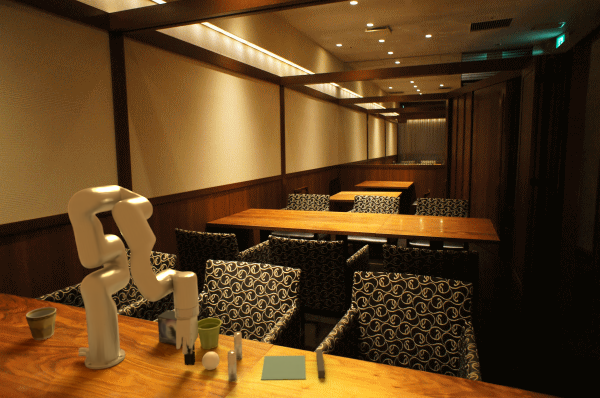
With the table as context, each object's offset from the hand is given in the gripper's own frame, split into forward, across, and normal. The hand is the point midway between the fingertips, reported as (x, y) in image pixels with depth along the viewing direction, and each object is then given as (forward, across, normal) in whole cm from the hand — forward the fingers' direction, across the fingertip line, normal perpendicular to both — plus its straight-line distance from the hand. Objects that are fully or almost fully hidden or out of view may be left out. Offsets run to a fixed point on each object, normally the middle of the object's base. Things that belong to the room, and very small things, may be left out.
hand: (190, 363), depth 131 cm
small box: (+2, -20, -11) cm, 23 cm away
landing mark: (+2, 0, +31) cm, 31 cm away
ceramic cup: (+1, -25, -65) cm, 70 cm away
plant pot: (+2, -16, +3) cm, 16 cm away
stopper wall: (+2, 0, +43) cm, 43 cm away
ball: (-1, 0, +7) cm, 7 cm away
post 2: (+2, -6, +15) cm, 16 cm away
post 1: (+2, +6, +15) cm, 16 cm away
